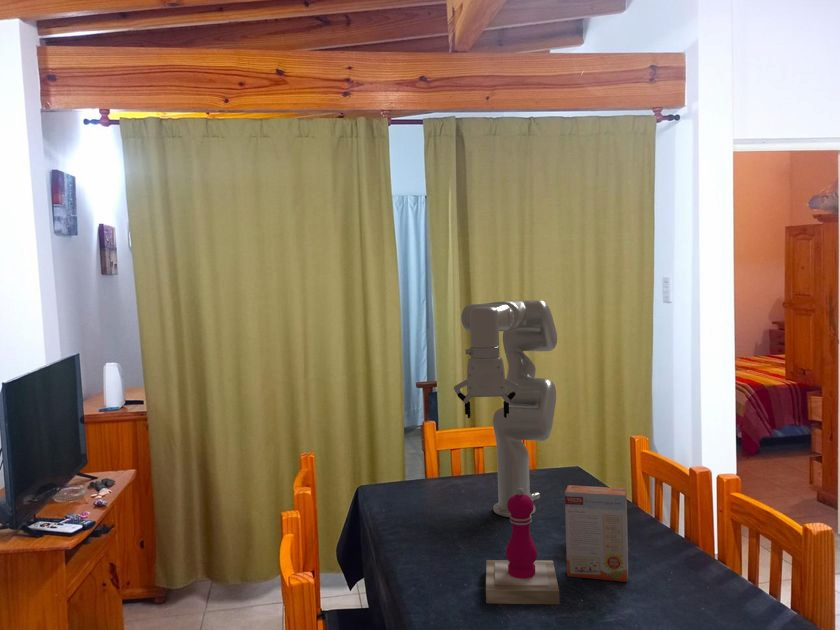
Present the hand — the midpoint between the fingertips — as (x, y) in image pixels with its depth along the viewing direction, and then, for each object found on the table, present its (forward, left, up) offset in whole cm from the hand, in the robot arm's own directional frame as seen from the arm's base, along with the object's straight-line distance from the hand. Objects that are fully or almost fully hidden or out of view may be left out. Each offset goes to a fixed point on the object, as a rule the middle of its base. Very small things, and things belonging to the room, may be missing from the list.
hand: (487, 416), depth 190 cm
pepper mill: (+14, +24, -31) cm, 42 cm away
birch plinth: (+14, +24, -34) cm, 44 cm away
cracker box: (-4, +32, -34) cm, 47 cm away
